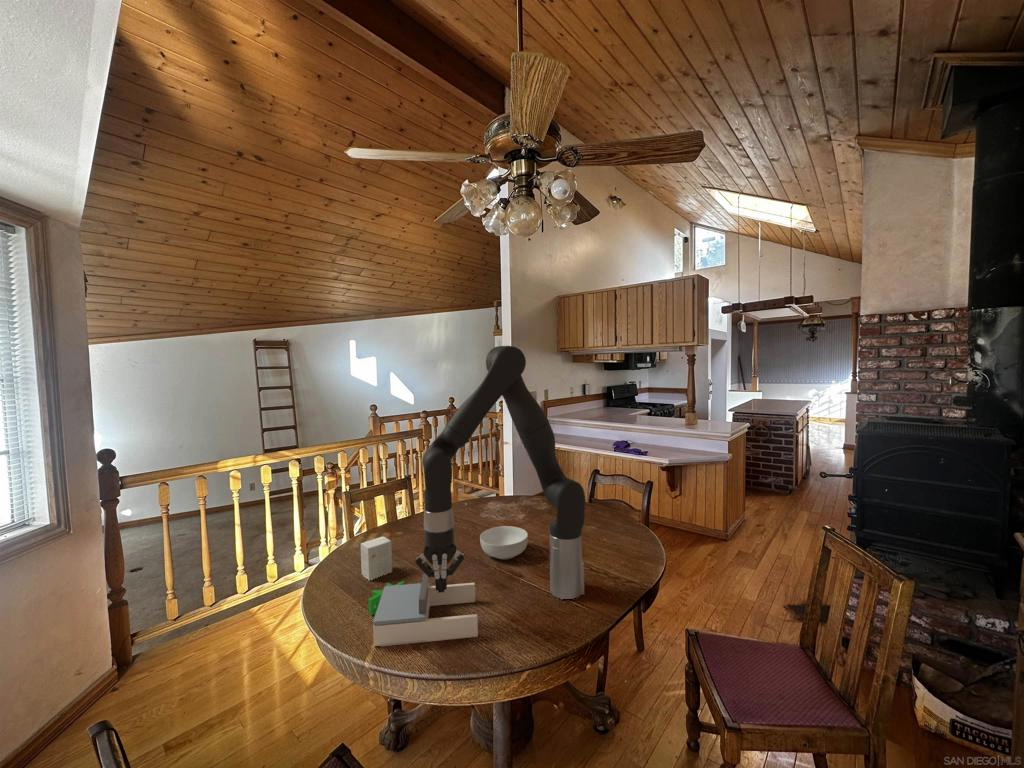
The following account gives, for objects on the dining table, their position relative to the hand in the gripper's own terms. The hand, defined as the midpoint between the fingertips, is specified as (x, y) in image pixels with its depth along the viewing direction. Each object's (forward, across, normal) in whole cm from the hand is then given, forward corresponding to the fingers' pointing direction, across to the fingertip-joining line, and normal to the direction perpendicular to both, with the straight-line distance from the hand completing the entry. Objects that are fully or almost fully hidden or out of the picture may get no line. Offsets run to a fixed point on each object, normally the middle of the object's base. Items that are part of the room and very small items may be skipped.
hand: (441, 590), depth 106 cm
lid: (+2, +10, 0) cm, 10 cm away
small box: (+8, +22, -28) cm, 36 cm away
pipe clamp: (+8, +16, -10) cm, 20 cm away
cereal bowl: (+8, -20, -35) cm, 41 cm away
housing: (+8, +3, 0) cm, 8 cm away
